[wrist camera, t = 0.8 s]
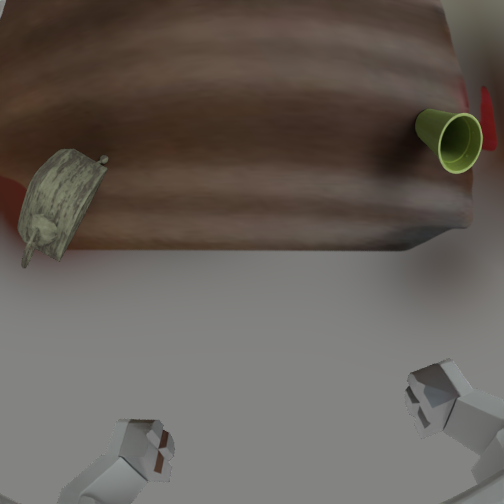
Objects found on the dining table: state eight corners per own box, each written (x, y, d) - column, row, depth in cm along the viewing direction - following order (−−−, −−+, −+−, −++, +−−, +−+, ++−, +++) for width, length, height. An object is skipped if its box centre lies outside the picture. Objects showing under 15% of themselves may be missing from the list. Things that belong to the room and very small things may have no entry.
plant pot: (449, 144, 54) (481, 167, 45) (407, 154, 55) (438, 179, 46) (447, 94, 46) (483, 110, 38) (402, 101, 48) (437, 117, 39)
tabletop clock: (87, 211, 55) (40, 303, 36) (52, 190, 51) (-9, 275, 32) (117, 153, 49) (63, 235, 30) (78, 130, 45) (3, 199, 26)
